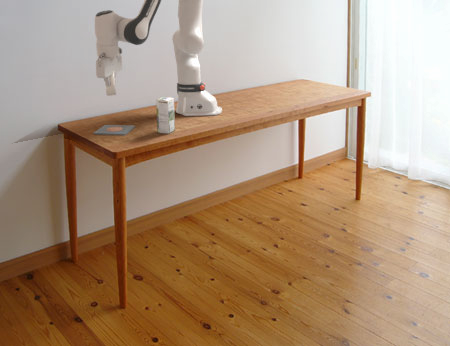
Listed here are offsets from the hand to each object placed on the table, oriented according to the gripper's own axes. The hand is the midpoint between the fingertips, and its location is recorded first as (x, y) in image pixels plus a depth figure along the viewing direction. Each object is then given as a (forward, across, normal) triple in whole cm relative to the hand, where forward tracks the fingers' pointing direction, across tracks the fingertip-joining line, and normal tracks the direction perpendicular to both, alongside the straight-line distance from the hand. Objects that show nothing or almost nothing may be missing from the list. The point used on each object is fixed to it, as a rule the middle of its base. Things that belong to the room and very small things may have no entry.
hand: (110, 85), depth 231 cm
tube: (+4, 0, 0) cm, 4 cm away
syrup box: (+20, +1, -23) cm, 31 cm away
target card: (+20, 0, 0) cm, 20 cm away
